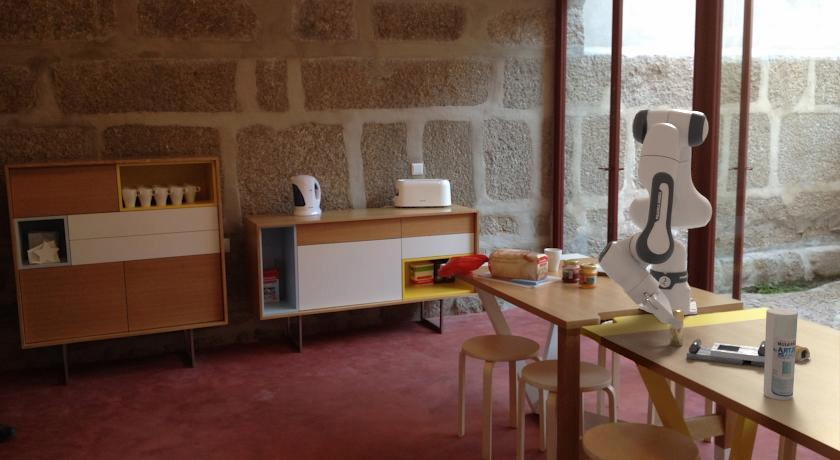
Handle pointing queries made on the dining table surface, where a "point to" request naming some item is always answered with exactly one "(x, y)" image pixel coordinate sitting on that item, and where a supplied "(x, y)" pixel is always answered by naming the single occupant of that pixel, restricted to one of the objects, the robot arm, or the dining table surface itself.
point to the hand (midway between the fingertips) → (679, 324)
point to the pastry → (801, 353)
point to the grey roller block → (728, 353)
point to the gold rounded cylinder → (677, 334)
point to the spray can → (780, 353)
